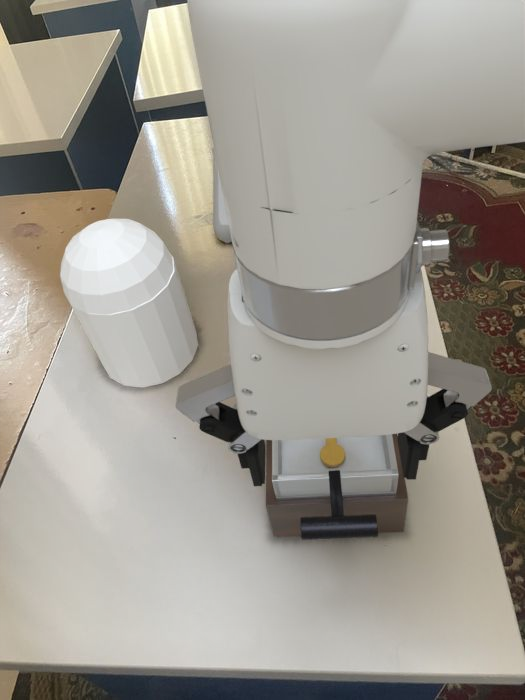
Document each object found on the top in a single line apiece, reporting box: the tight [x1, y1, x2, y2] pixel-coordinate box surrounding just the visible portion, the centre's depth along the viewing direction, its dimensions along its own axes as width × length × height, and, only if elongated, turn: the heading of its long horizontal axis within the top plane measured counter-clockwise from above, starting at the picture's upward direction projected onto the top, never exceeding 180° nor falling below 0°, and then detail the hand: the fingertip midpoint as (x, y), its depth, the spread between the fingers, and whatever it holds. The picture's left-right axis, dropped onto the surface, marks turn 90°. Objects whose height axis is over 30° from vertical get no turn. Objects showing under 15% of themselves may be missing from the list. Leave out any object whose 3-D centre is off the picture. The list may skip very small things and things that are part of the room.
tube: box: [211, 146, 232, 244], centre depth 96 cm, size 5×5×25 cm
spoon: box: [320, 438, 345, 468], centre depth 56 cm, size 6×2×1 cm, turn 179°
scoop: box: [272, 434, 399, 541], centre depth 52 cm, size 19×11×6 cm, turn 179°
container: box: [59, 218, 199, 389], centre depth 70 cm, size 14×13×20 cm
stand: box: [265, 433, 409, 538], centre depth 59 cm, size 14×13×7 cm
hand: (332, 463), depth 38 cm, fingers open, 9 cm apart
